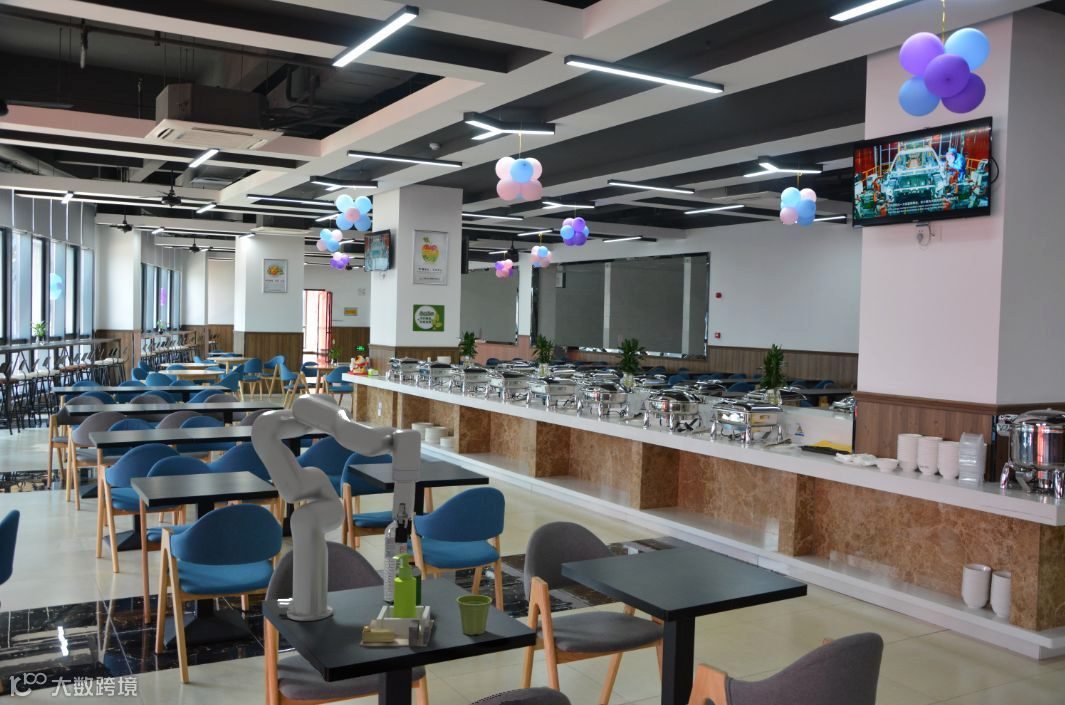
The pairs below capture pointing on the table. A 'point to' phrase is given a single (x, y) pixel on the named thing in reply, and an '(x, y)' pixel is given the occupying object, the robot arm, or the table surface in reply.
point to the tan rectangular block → (378, 635)
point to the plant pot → (474, 613)
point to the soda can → (418, 575)
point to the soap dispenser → (404, 589)
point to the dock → (402, 620)
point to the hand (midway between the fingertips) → (403, 538)
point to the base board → (405, 636)
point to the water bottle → (391, 560)
